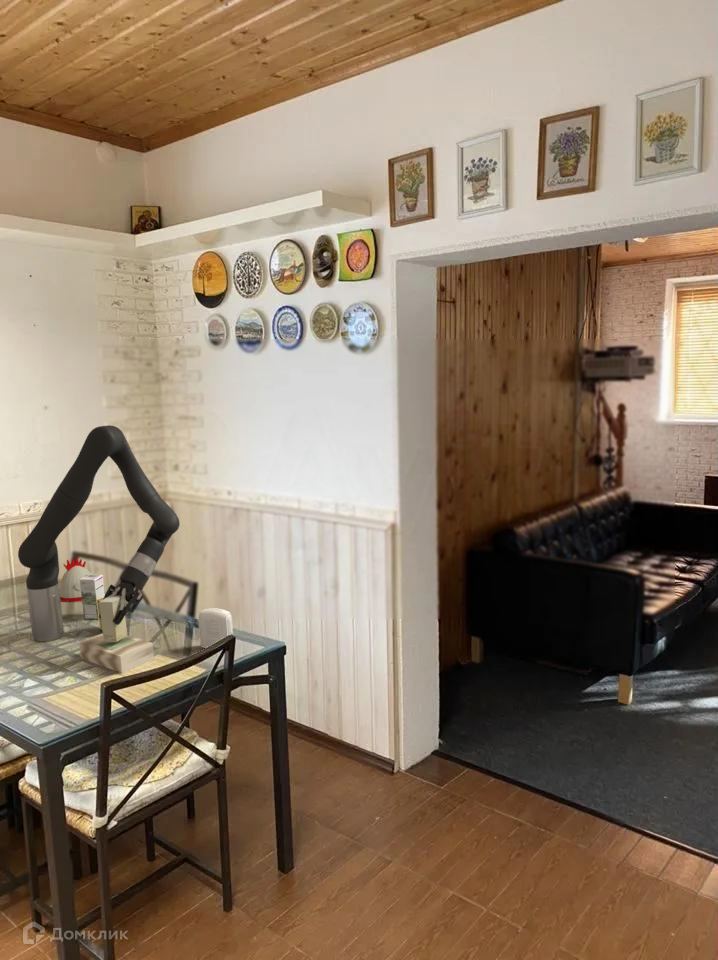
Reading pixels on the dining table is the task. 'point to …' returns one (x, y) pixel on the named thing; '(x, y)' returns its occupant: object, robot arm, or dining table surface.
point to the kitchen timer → (72, 581)
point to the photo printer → (214, 625)
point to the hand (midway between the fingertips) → (108, 621)
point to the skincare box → (108, 613)
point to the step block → (117, 652)
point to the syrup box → (91, 594)
